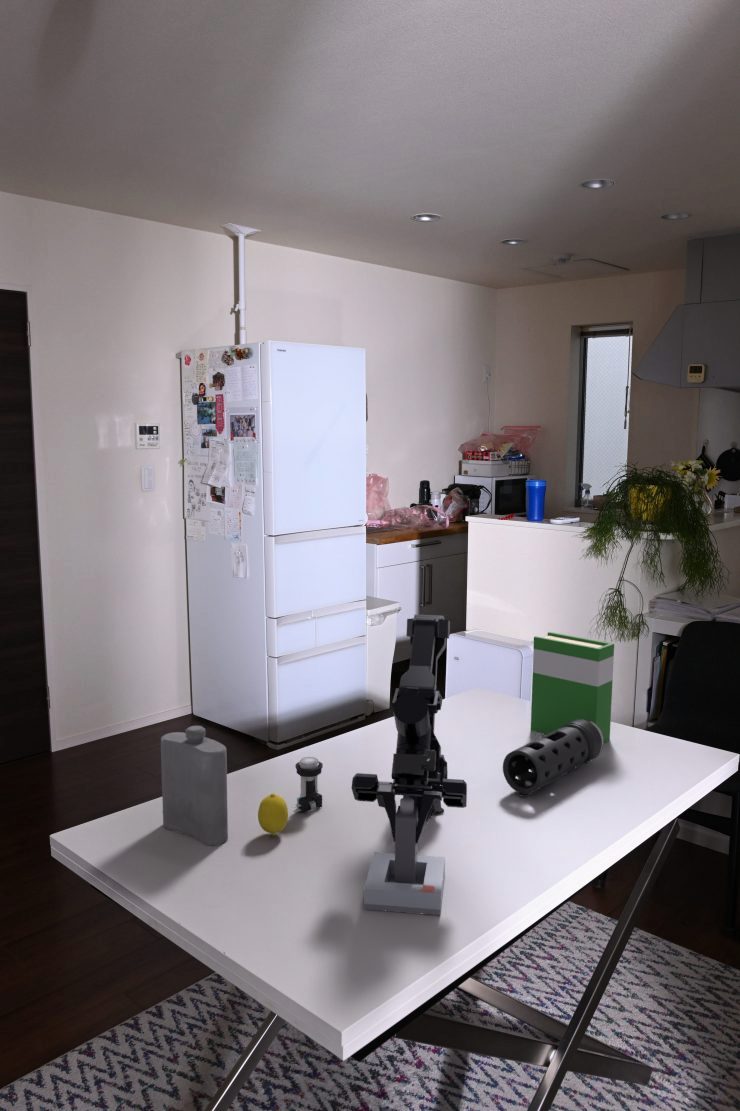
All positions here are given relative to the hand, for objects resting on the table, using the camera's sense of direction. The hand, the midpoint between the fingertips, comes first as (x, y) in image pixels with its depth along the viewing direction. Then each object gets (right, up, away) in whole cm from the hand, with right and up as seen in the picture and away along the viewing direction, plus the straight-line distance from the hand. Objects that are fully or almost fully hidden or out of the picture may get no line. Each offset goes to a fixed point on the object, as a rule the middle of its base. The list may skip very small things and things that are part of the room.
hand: (405, 841), depth 140 cm
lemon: (-24, -6, +22) cm, 33 cm away
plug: (0, -6, +2) cm, 7 cm away
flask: (-38, -6, +24) cm, 45 cm away
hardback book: (+44, +1, +76) cm, 88 cm away
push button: (-18, -5, +33) cm, 38 cm away
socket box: (0, -9, +3) cm, 9 cm away
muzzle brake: (+34, -3, +50) cm, 60 cm away
